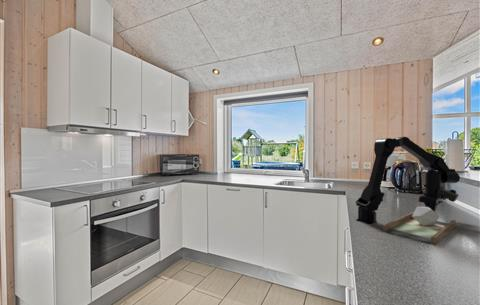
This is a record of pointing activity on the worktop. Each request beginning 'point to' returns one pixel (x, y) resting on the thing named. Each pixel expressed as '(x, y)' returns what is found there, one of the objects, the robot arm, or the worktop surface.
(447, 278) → the worktop surface
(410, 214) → the box
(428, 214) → the die
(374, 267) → the worktop surface
